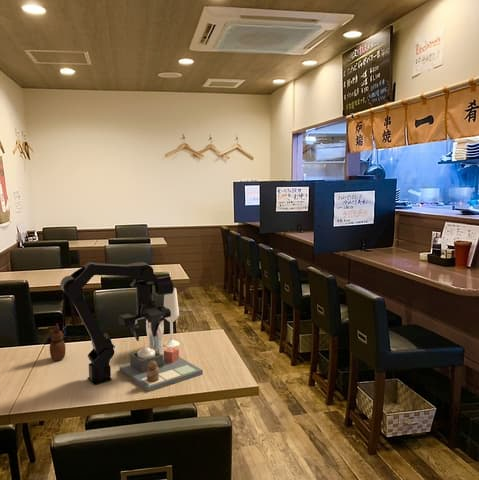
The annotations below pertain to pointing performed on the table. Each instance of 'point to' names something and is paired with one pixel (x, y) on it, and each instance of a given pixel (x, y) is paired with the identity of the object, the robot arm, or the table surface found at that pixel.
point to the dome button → (146, 353)
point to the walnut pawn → (152, 372)
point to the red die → (171, 355)
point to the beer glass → (157, 340)
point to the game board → (167, 371)
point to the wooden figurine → (57, 344)
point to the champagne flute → (171, 304)
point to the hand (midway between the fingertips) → (145, 338)
